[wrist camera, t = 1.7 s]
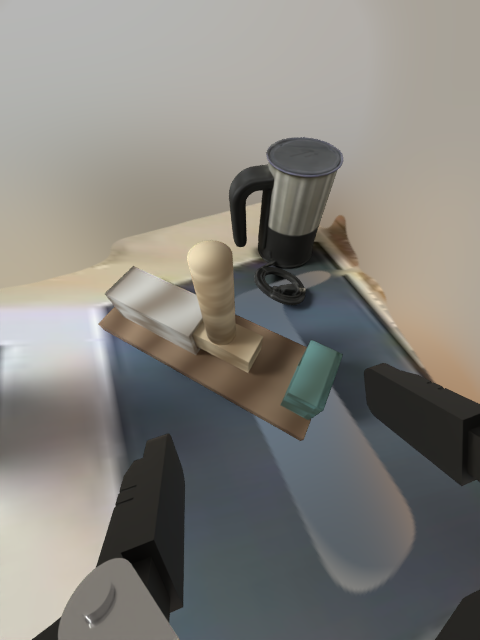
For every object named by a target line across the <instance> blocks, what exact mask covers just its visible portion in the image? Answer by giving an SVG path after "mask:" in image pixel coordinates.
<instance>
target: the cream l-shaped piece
mask: <svg viewBox="0 0 480 640" xmlns="http://www.w3.org/2000/svg"><path fill="white" fill-rule="evenodd" d="M187 261H188V265H189V269H190V273H191V276H192V280H193V284H194V288H195V291H196V295H197V299H198V303H199V307H200V310H201V314H202V318H203V321H202V322H201V323H200V325H199V326H198V328H197V329H196V330H195V332H194V333H193V334H192V337H193V339H194V342H195V345H196V346H197V347H199V348H201V349H203V350H205V351H207V352H209V353H210V354H212V355H214V356H216V357H218V358H220V359H222V360H224V361H226V362H228V363H230V364H232V365H234V366H235V367H237V368H239V369H241V370H243V371H245V372H247V373H248V372H249V370H250V369H251V367H252V365H253V363H254V361H255V359H256V358H257V356H258V354H259V352H260V350H261V347H262V341H263V336H261V335H259V334H257V333H255V332H253V331H251V330H249V329H246V328H244V327H242V326H240V325H238V324H236V323H235V302H234V279H233V257H232V251H231V249H230V248H229V247H228V246H227V245H226V244H224V243H222V242H219V241H204V242H200V243H198V244H196V245H195V246H193V247H192V248H191V249H190V251H189V252H188V255H187Z"/></svg>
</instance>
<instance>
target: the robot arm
mask: <svg viewBox="0 0 480 640" xmlns="http://www.w3.org/2000/svg"><path fill="white" fill-rule="evenodd" d="M364 380H365V390H366V400H367V405H368V407H369V409H370V411H371V412H372V414H373V415H374V416H375V417H376V418H377V419H379V420H380V421H381V422H382V423H384V424H385V425H386V426H387V427H388V428H390V429H391V430H392V431H393V432H395V433H396V434H397V435H398V436H400V437H401V438H402V439H403V440H405V441H406V442H407V443H408V444H410V445H411V446H412V447H413V448H415V449H416V450H417V451H418V452H420V453H421V454H422V455H423V456H425V457H426V458H427V459H428V460H430V461H431V462H432V463H433V464H435V465H436V466H437V467H438V468H440V469H441V470H442V471H443V472H445V473H446V474H447V475H448V476H450V477H451V478H452V479H453V480H455V481H456V482H457V483H458V484H460V485H461V486H463V485H465V484H468V483H470V482H472V481H475V480H478V481H479V482H480V404H478V403H476V402H474V401H472V400H470V399H467V398H465V397H463V396H461V395H459V394H457V393H455V392H453V391H451V390H448V389H446V388H445V389H444V388H443V387H442V386H440V385H438V384H436V383H432V382H431V381H429V380H427V379H425V378H423V377H421V376H419V375H416V374H412V373H408V372H404V371H400V370H398V369H396V368H394V367H392V366H390V365H388V364H385V363H382V364H379V365H376V366H373V367H370V368H367V369H365V371H364ZM184 512H185V481H184V474H183V469H182V466H181V463H180V460H179V457H178V455H177V452H176V449H175V446H174V443H173V440H172V438H171V436H170V434H165V435H162V436H159V437H156V438H153V439H150V440H148V441H147V443H146V447H145V451H144V455H143V458H141V459H138V460H135V461H134V462H133V463H132V465H131V466H130V468H129V469H128V471H127V472H126V474H125V475H124V478H123V481H122V484H121V488H120V494H118V497H117V501H116V507H115V508H114V510H113V514H112V517H111V520H110V524H109V527H108V530H107V533H106V537H105V540H104V543H103V546H102V550H101V553H100V556H99V560H98V563H97V566H96V568H95V569H94V570H93V571H92V572H91V573H90V574H88V575H87V576H86V578H85V579H84V580H83V581H82V582H81V583H80V584H79V586H78V587H77V588H76V590H75V591H74V593H73V594H72V596H71V597H70V599H69V601H68V603H67V605H66V607H65V609H64V611H63V614H62V616H61V617H60V618H59V619H58V620H57V621H56V622H54V623H53V624H52V625H51V626H49V627H48V628H47V629H45V630H44V631H43V632H41V633H40V634H39V635H37V636H36V637H35V638H33V639H32V640H180V639H179V638H178V636H177V635H176V633H175V632H174V630H173V629H172V627H171V626H170V624H169V617H170V613H171V612H173V611H175V610H178V609H180V608H182V607H183V582H184ZM435 640H480V590H478V591H476V592H474V593H472V594H470V595H469V596H467V597H465V598H463V599H462V601H461V602H460V604H459V605H458V607H457V608H456V610H455V611H454V613H453V614H452V616H451V617H450V619H449V620H448V621H447V623H446V624H445V626H444V627H443V629H442V630H441V632H440V633H439V635H438V636H437V638H436V639H435Z"/></svg>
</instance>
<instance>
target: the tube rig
mask: <svg viewBox="0 0 480 640" xmlns="http://www.w3.org/2000/svg"><path fill="white" fill-rule="evenodd" d="M105 295H106V296H107V297H108V299H109V300H110V301H111V302H112V304H113V305H114V306H115V307H114V308H113V309H112V310H111V311H110V312H109V313H108V314H107V315H106V316H105V317H104V318H103V320H102V321H101V322H100V323H99V325H100V326H101V327H102V328H103V329H104V330H105V331H107V332H109V333H111V334H112V335H114V336H116V337H118V338H119V339H121V340H123V341H125V342H127V343H128V344H130V345H132V346H134V347H135V348H137V349H139V350H141V351H142V352H144V353H146V354H148V355H150V356H151V357H153V358H155V359H157V360H158V361H160V362H162V363H164V364H165V365H167V366H169V367H171V368H173V369H174V370H176V371H178V372H180V373H181V374H183V375H185V376H187V377H188V378H190V379H192V380H194V381H196V382H197V383H199V384H201V385H203V386H204V387H206V388H208V389H210V390H211V391H213V392H215V393H217V394H218V395H220V396H222V397H224V398H226V399H227V400H229V401H231V402H233V403H234V404H236V405H238V406H240V407H241V408H243V409H245V410H247V411H249V412H250V413H252V414H254V415H256V416H257V417H259V418H261V419H263V420H264V421H266V422H268V423H270V424H272V425H273V426H275V427H277V428H279V429H281V430H282V431H284V432H286V433H287V434H289V435H291V436H293V437H294V438H296V439H298V440H300V441H301V440H303V439H304V437H305V434H306V432H307V429H308V426H309V424H310V421H311V418H313V417H314V416H316V415H317V414H319V413H320V412H322V411H323V410H324V407H325V404H326V401H327V398H328V396H329V393H330V390H331V387H332V384H333V381H334V379H335V376H336V373H337V370H338V367H339V364H340V361H341V359H342V356H343V354H341V353H339V352H337V351H335V350H332V349H330V348H328V347H326V346H323V345H321V344H319V343H317V342H314V341H312V340H311V341H310V343H309V345H308V347H305V346H303V345H300V344H299V343H296V342H294V341H292V340H290V339H288V338H285V337H283V336H281V335H279V334H277V333H274V332H272V331H270V330H268V329H266V328H264V327H261V326H259V325H257V324H255V323H253V322H251V321H248V320H246V319H244V318H242V317H240V316H237V315H235V323H236V324H238V325H240V326H242V327H244V328H246V329H249V330H251V331H253V332H255V333H257V334H259V335H261V336H263V341H262V347H261V350H260V352H259V354H258V356H257V358H256V359H255V361H254V363H253V365H252V367H251V369H250V370H249V372H248V373H247V372H245V371H243V370H241V369H239V368H237V367H235V366H234V365H232V364H230V363H228V362H226V361H224V360H222V359H220V358H218V357H216V356H214V355H212V354H210V353H209V352H207V351H205V350H203V349H201V348H199V347H197V346H196V345H195V342H194V339H193V337H192V334H193V333H194V332H195V330H196V329H197V328H198V326H199V325H200V323H201V322H202V321H203V318H202V314H201V310H200V307H199V303H198V299H197V295H196V294H193V293H191V292H189V291H187V290H185V289H182V288H180V287H178V286H176V285H174V284H172V283H169V282H167V281H165V280H163V279H161V278H158V277H156V276H154V275H152V274H150V273H147V272H145V271H143V270H141V269H139V268H137V267H134V266H133V267H132V268H131V269H130V270H129V271H128V272H127V273H126V274H124V275H123V276H122V277H121V278H120V279H119V280H118V281H117V282H116V283H115V284H114V285H113V286H112V287H111V288H110V289H109V290H108V291H107V292H106V293H105Z"/></svg>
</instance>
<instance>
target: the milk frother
mask: <svg viewBox="0 0 480 640" xmlns="http://www.w3.org/2000/svg"><path fill="white" fill-rule="evenodd" d="M266 155H267V159H268V161H269V162H268V165H260V166H253V167H249V168H246V169H244V170H243V171H241V172H240V173H239V174H238V175H237V176H236V177H235V178H234V180H233V181H232V183H231V186H230V190H229V201H230V212H231V221H232V230H233V238H234V242H235V244H236V245H237V246H238V247H244V246H245V245H246V241H247V236H246V199H247V197H248V196H249V195H250V194H251V193H253V192H255V191H259V190H263V195H262V205H261V216H260V225H259V235H258V241H259V243H258V251H259V253H260V255H261V257H262V258H263V259H264V260H265V261H266V262H268V263H269V264H267V265H264V266H262V267H261V268H259V269H258V270H257V271H256V273H255V275H254V280H255V283H256V285H257V286H258V288H259V289H260V290H261V291H262V292H263V293H265V294H266V295H267V296H269V297H270V298H272V299H273V300H275V301H278V302H280V303H282V304H286V305H297V304H299V303H301V302H302V301H303V299H304V298H305V292H306V291H305V290H306V289H305V288H304V286H303V284H302V283H301V281H300V280H299V279H298V278H297V277H296V276H294V275H292V274H291V273H289V272H287V271H285V270H282V269H279V268H274V267H269V266H271V265H274V266H277V267H282V268H293V267H297V266H300V265H302V264H304V263H306V262H307V261H308V260H309V259H310V257H311V255H312V246H313V243H314V239H315V236H316V233H317V230H318V227H319V224H320V221H321V218H322V214H323V212H324V209H325V206H326V202H327V200H328V197H329V194H330V191H331V188H332V184H333V182H334V179H335V176H336V173H337V170H338V169H339V168H340V167H341V165H342V163H343V156H342V153H341V152H340V150H338V149H337V148H336V147H334V146H333V145H331V144H329V143H327V142H324V141H320V140H318V139H313V138H304V137H303V138H302V137H301V138H288V139H282V140H280V141H277V142H275V143H274V144H272V145H271V146H270V147H269V149H268V150H267V152H266ZM269 274H274V275H278V276H281V277H283V278H285V279H287V280H289V281H290V282H292V284H287V285H281V286H279V287H277V286H273V287H271V286H269V285H268V284H267V282H266V281H265V276H266V275H269Z"/></svg>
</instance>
